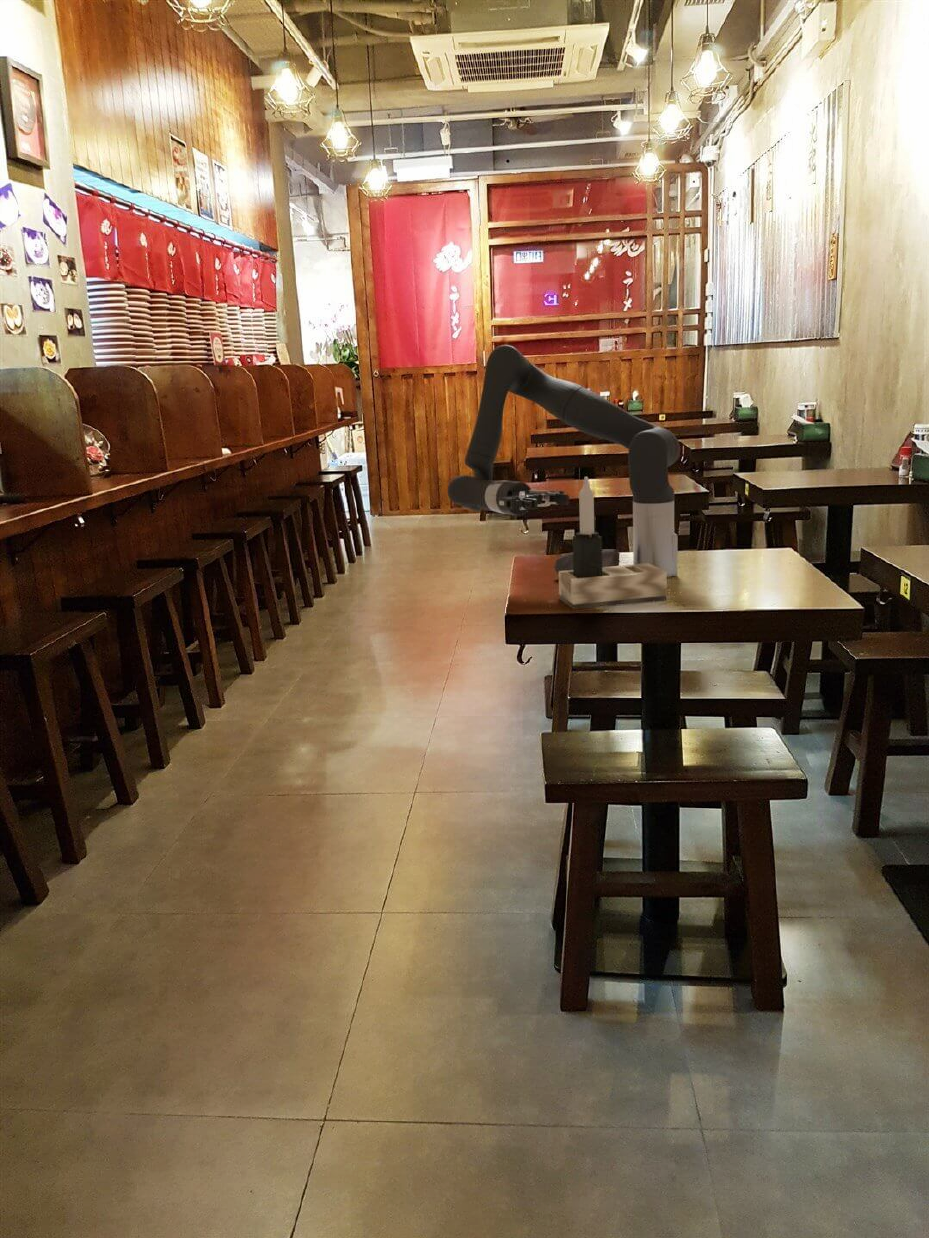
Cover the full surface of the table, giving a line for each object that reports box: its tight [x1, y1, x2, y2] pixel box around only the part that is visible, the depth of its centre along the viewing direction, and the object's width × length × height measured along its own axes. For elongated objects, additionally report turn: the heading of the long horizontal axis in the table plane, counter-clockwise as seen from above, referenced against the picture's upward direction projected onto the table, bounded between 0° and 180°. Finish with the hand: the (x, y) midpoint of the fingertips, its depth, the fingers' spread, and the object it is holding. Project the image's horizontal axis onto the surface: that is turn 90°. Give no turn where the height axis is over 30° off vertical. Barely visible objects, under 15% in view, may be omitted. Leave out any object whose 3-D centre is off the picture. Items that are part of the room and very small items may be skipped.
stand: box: [558, 563, 668, 610], centre depth 201 cm, size 20×10×6 cm, turn 101°
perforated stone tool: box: [553, 548, 621, 575], centre depth 223 cm, size 15×5×7 cm, turn 75°
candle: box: [572, 476, 603, 578], centre depth 198 cm, size 5×5×25 cm
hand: (552, 502), depth 206 cm, fingers open, 8 cm apart
